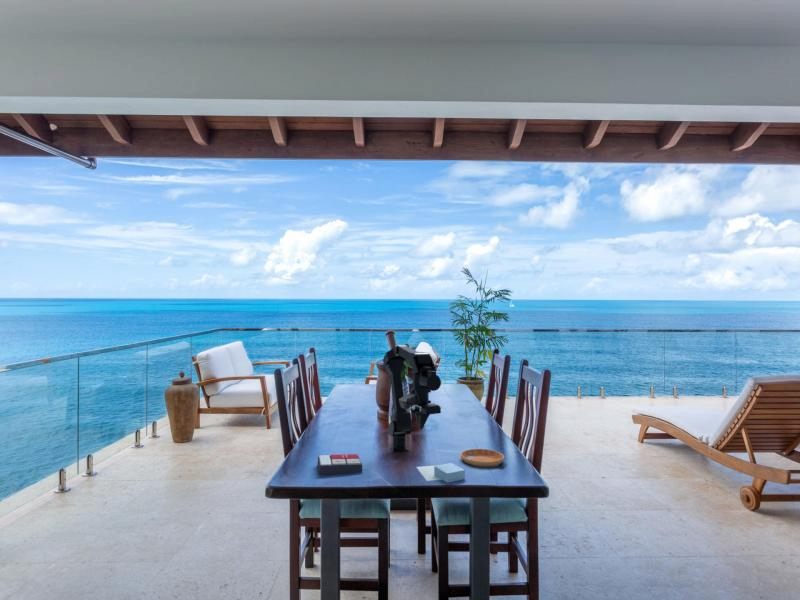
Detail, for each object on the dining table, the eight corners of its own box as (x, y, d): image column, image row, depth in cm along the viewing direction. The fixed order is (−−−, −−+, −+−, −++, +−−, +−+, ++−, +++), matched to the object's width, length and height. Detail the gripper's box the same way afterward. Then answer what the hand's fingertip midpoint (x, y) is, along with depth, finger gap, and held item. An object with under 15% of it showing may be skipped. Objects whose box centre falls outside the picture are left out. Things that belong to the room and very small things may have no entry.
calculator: (362, 462, 160) (319, 463, 157) (362, 475, 160) (318, 476, 157) (358, 453, 171) (317, 453, 167) (357, 464, 171) (317, 465, 167)
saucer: (466, 454, 181) (466, 446, 181) (506, 458, 175) (506, 450, 175) (456, 466, 166) (456, 458, 166) (500, 472, 160) (500, 464, 160)
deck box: (434, 466, 156) (447, 473, 149) (451, 462, 159) (464, 469, 152) (434, 474, 156) (447, 482, 149) (451, 471, 159) (464, 479, 152)
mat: (416, 468, 163) (416, 467, 163) (450, 465, 166) (450, 464, 166) (426, 482, 150) (426, 480, 150) (463, 479, 153) (463, 477, 153)
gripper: (390, 384, 174) (390, 425, 173) (414, 392, 157) (414, 437, 157) (415, 382, 179) (415, 422, 178) (441, 389, 162) (441, 433, 162)
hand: (421, 428), depth 169 cm, fingers closed
